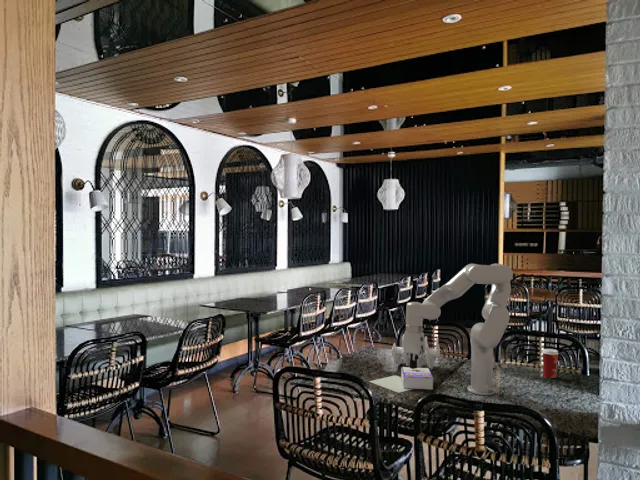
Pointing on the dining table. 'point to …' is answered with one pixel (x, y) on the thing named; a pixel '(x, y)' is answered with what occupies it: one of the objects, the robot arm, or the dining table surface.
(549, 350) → the paper cup
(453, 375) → the dining table surface
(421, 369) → the candy box
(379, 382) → the mat
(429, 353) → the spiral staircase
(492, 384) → the robot arm
